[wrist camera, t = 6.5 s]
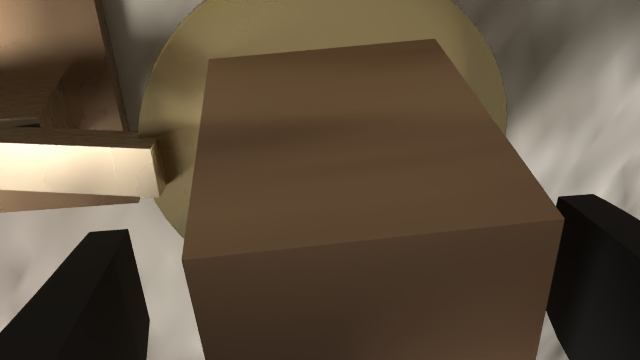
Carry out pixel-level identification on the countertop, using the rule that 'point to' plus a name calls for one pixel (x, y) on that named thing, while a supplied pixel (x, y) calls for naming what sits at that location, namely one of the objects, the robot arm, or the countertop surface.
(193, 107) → the balance
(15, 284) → the countertop surface
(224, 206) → the walnut block
